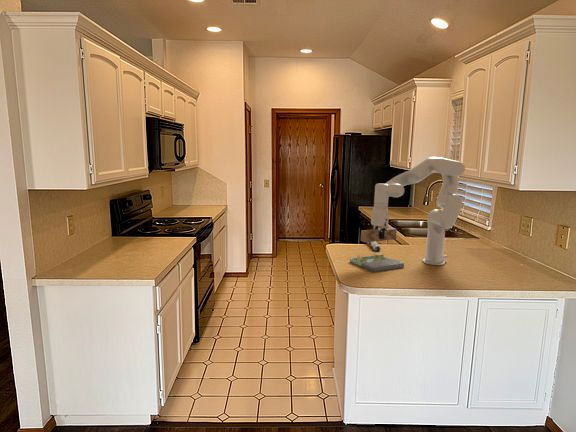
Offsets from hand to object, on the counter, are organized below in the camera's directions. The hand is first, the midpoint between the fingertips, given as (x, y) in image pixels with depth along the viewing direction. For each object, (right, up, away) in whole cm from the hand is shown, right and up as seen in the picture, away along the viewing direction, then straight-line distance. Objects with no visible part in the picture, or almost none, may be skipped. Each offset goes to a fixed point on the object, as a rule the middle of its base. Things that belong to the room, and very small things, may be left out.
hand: (378, 237), depth 231 cm
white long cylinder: (+6, -9, +46) cm, 47 cm away
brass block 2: (+3, -12, +8) cm, 15 cm away
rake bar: (0, -1, 0) cm, 1 cm away
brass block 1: (-8, -13, +2) cm, 15 cm away
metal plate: (+2, -17, -2) cm, 17 cm away
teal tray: (-3, -15, +8) cm, 17 cm away
